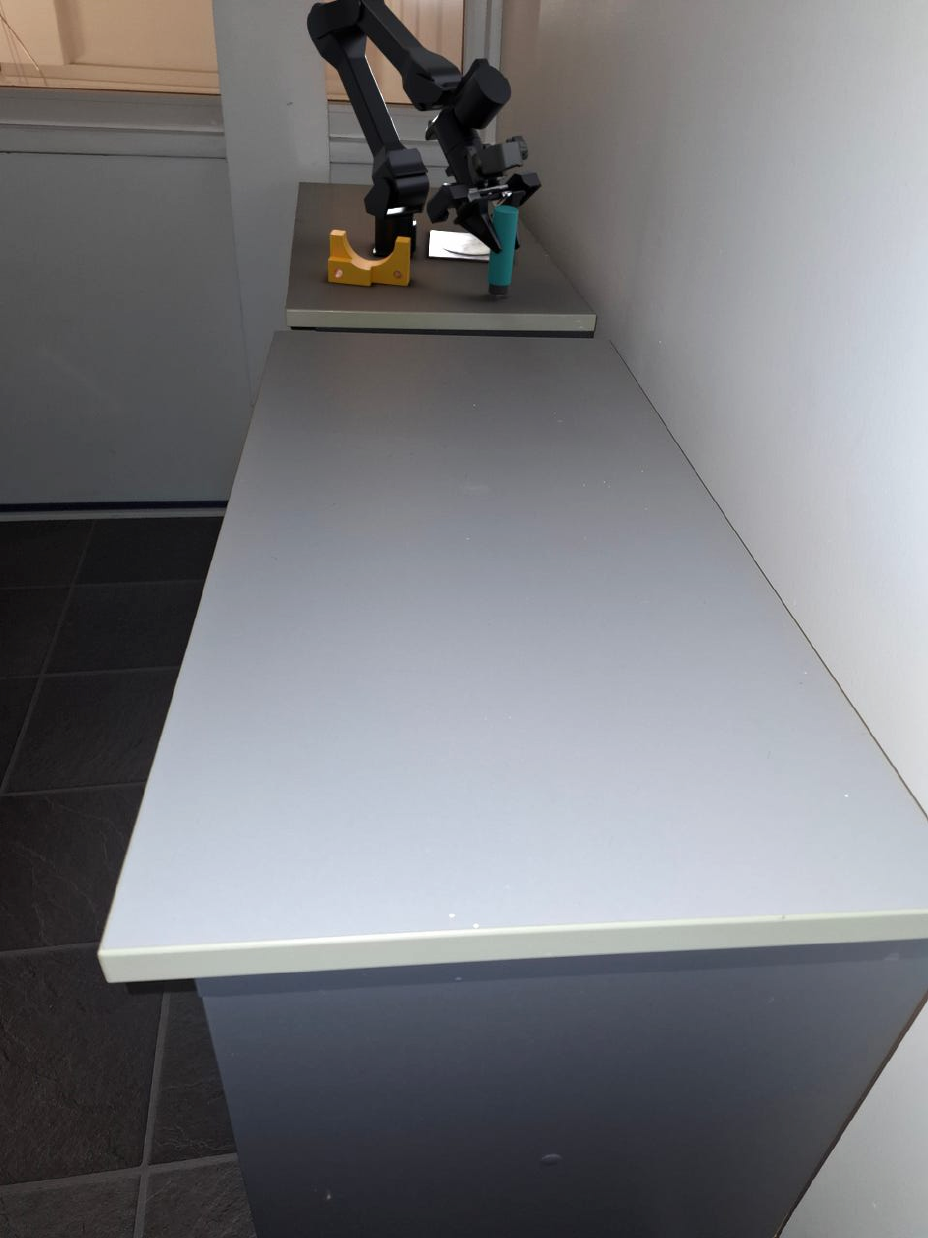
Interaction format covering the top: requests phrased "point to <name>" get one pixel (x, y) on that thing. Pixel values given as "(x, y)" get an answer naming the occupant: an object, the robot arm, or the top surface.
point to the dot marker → (503, 261)
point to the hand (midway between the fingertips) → (508, 250)
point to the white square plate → (457, 247)
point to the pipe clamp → (367, 263)
